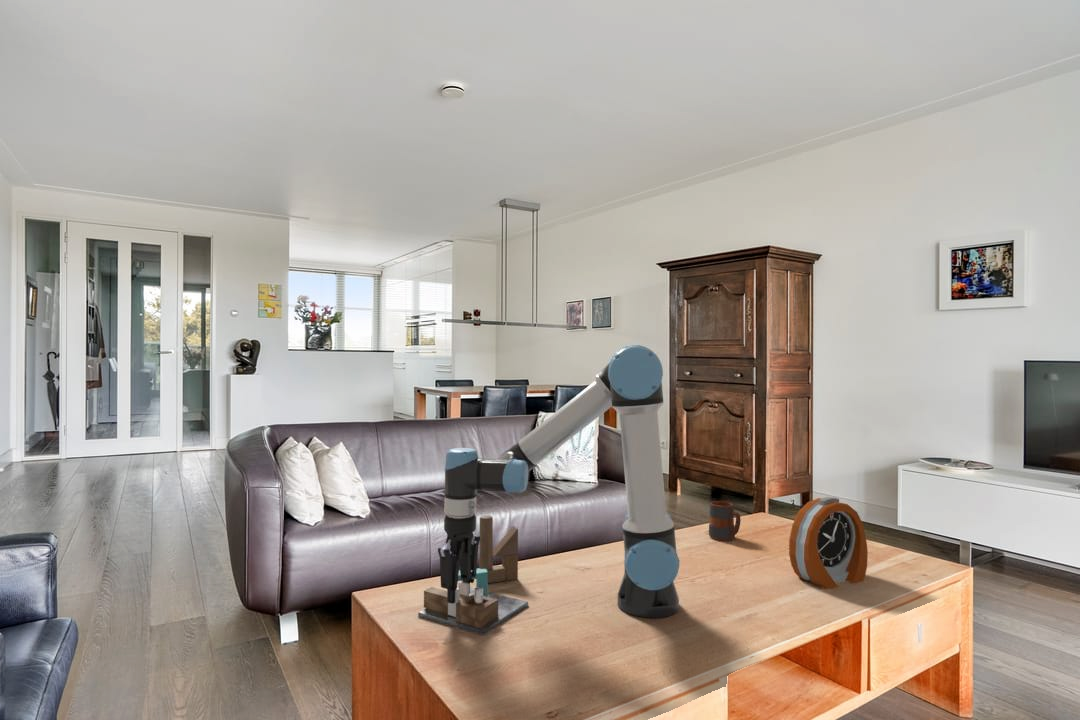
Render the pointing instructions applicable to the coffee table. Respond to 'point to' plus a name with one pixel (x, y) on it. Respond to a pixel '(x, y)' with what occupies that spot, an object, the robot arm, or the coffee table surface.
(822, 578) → the alarm clock
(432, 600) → the link
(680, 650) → the coffee table surface
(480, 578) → the keeper
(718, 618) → the coffee table surface
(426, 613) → the base
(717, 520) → the mug
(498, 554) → the brown wooden bracket frame
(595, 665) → the coffee table surface
